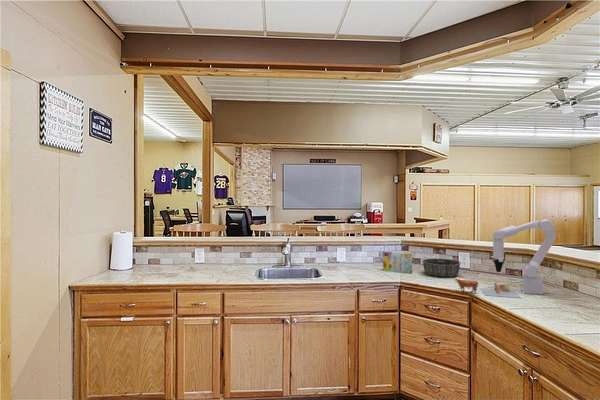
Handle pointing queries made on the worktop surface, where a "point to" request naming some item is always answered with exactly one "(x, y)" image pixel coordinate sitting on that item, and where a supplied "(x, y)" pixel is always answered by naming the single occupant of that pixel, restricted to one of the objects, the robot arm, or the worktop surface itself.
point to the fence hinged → (496, 288)
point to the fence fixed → (503, 287)
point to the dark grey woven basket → (441, 267)
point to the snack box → (397, 262)
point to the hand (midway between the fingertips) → (498, 271)
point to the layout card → (500, 293)
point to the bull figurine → (466, 284)
